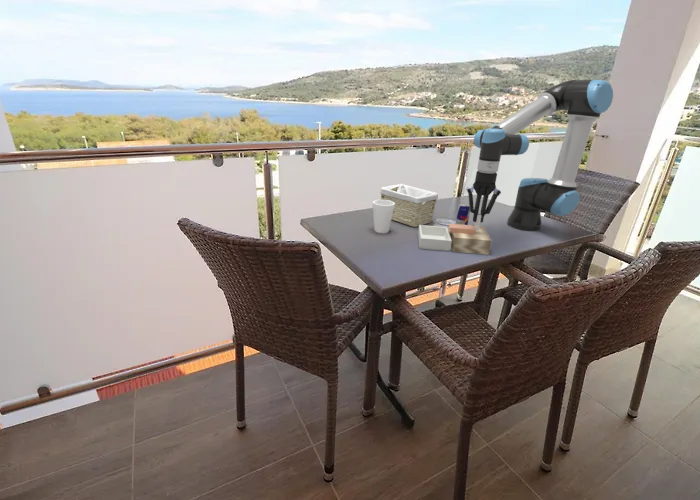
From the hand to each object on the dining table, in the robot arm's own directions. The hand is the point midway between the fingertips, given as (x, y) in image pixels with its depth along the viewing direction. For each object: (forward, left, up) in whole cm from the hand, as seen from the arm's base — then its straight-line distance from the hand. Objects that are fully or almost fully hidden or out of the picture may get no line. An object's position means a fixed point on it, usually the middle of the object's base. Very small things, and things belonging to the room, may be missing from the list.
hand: (476, 229), depth 151 cm
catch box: (+16, 0, -7) cm, 18 cm away
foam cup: (+38, -9, -8) cm, 40 cm away
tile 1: (+8, 0, -1) cm, 8 cm away
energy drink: (+2, -19, -8) cm, 21 cm away
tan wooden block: (+2, 0, -7) cm, 8 cm away
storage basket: (+27, -29, -8) cm, 40 cm away
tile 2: (+3, 0, -1) cm, 3 cm away
